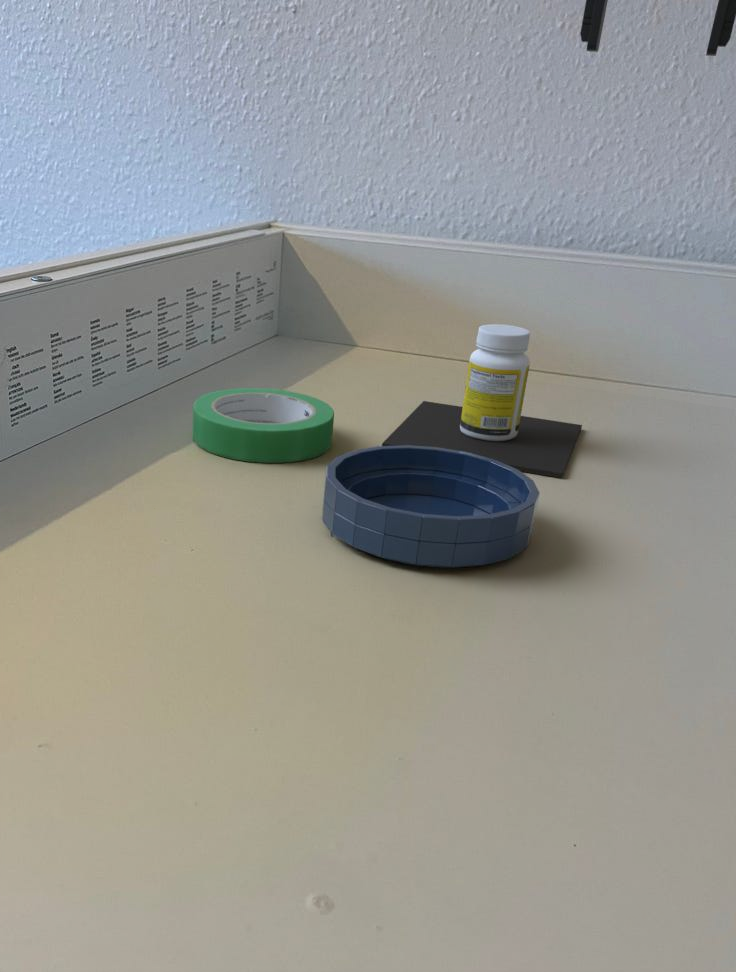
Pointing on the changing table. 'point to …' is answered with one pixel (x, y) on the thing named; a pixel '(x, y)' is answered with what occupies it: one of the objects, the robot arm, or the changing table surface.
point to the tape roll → (262, 425)
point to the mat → (529, 451)
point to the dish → (429, 505)
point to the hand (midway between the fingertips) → (650, 53)
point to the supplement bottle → (496, 383)
